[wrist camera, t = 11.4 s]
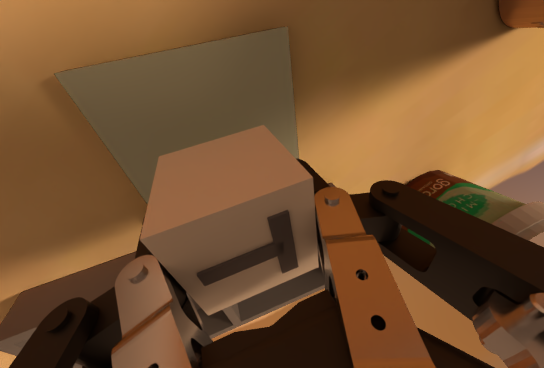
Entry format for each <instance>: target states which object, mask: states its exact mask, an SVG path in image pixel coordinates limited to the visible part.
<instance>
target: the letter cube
mask: <svg viewBox="0 0 544 368" xmlns="http://www.w3.org/2000/svg"><path fill="white" fill-rule="evenodd" d="M140 241H141V242H142V243H143V244H144V245H145V246H146V247H147V249H148V250H149V251H150V252H151V253H152V254H153V255H154V256H155V257H156V258H157V260H158V261H159V262H160V263H161V264H162V265H163V266H164V267H165V268H166V270H167V271H168V272H169V273H170V274H171V275H172V276H173V277H174V278H175V279H176V281H177V282H178V283H179V284H180V285H181V286H182V287H183V288H184V289H185V291H186V292H187V293H188V294H189V295H190V296H191V297H192V298H193V299H194V300H195V302H196V303H197V304H198V305H199V306H200V307H201V308H202V309H203V310H204V311H205V313H206V314H207V315H208V316H209V315H211V314H213V313H216V312H218V311H220V310H222V309H225V308H227V307H229V306H232V305H234V304H236V303H238V302H241V301H243V300H245V299H247V298H250V297H252V296H254V295H256V294H259V293H261V292H263V291H266V290H268V289H270V288H272V287H275V286H277V285H279V284H281V283H284V282H286V281H288V280H290V279H293V278H295V277H297V276H300V275H302V274H304V273H306V272H309V271H311V270H313V269H315V268H318V267H319V264H318V249H317V233H316V217H315V201H314V186H313V177H312V176H311V175H310V174H309V173H308V171H307V170H306V169H305V168H304V167H303V166H302V165H301V164H300V163H299V162H298V161H297V160H296V159H295V158H294V157H293V155H292V154H291V153H290V152H289V151H288V150H287V149H286V148H285V147H284V146H283V145H282V144H281V143H280V142H279V141H278V139H277V138H276V137H275V136H274V135H273V134H272V133H271V132H270V131H269V130H268V129H267V128H266V127H265V126H264V125H261V126H258V127H255V128H251V129H248V130H245V131H241V132H238V133H235V134H231V135H228V136H225V137H222V138H218V139H215V140H212V141H208V142H205V143H202V144H198V145H195V146H192V147H189V148H185V149H182V150H179V151H175V152H172V153H169V154H165V155H162V156H159V158H158V162H157V167H156V171H155V175H154V180H153V184H152V188H151V193H150V197H149V201H148V206H147V210H146V214H145V219H144V223H143V227H142V232H141V236H140Z"/></svg>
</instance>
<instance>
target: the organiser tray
mask: <svg viewBox="0 0 544 368" xmlns="http://www.w3.org/2000/svg"><path fill="white" fill-rule="evenodd" d="M328 185H329V186H330V187H335V186H334V185H333V184H332V183H329V184H328ZM317 249H318V245H317ZM135 255H136V252H134V253H131V254H128V255H125V256H123V257H120V258H117V259H114V260H111V261H108V262H106V263H103V264H100V265H97V266H94V267H91V268H89V269H86V270H83V271H80V272H77V273H75V274H72V275H69V276H66V277H63V278H60V279H58V280H55V281H52V282H49V283H46V284H43V285H41V286H38V287H35V288H32V289H29V290H26V291H24V292H21V294H20V295H19V297H18V298H17V300H16V301H15V303H14V304H13V306H12V307H11V309H10V311H9V312H8V314H7V315H6V317H5V318H4V320H3V321H2V323H1V324H0V351H2V352H6V353H9V354H12V355H15V356H17V355H18V354H19V352H20V351H21V350H22V348H23V347H24V345H25V344H26V342H27V341H28V340H29V338H30V337H31V335H32V334H33V333H34V331H35V330H36V328H37V327H38V325H39V324H40V323H41V321H42V320H43V319H44V318H45V317H46V316H47V315H48V314H49V313H50V312H51V311H52V310H54V309H55V308H56V307H57V306H59V305H60V304H62V303H64V302H65V301H67V300H70V299H72V298H76V297H82V298H84V299H86V300H87V301H89V302H91V301H93V300H94V299H96V298H97V297H99V296H100V295H102V294H104V293H105V292H107V291H108V290H110V289H111V288H113V287H114V286H115V281H116V278H117V276H118V275H119V273H120V272H121V271H122V269H123V268H124V267H125V266H126V265H127V264H129V263H130V262H131V261H133V260H134V259H135ZM318 264H319V267H318V268H315V269H313V270H311V271H309V272H306V273H304V274H302V275H300V276H297V277H295V278H293V279H290V280H288V281H286V282H284V283H281V284H279V285H277V286H275V287H272V288H270V289H268V290H266V291H263V292H261V293H259V294H256V295H254V296H252V297H250V298H247V299H245V300H243V301H241V302H238V303H236V304H234V305H232V306H229V307H227V308H225V309H222V310H220V311H218V312H216V313H213V314H211V315H209V316H208V315H207V314H206V313H205V311H204V310H203V309H202V308H201V307H200V306H199V305H198V304H197V303H196V302H195V300H194V299H193V298H192V297H191V296H190V297H191V300H192V302H193V304H194V306H195V308H196V310H197V312H198V314H199V317H200V319H201V321H202V323H203V325H204V327H205V329H206V331H207V333H208V335H209V337H210V338H211V339H212V338H214V337H216V336H218V335H221V334H223V333H225V332H227V331H230V330H232V329H234V328H236V327H239V326H241V325H243V324H245V323H248V322H250V321H252V320H254V319H256V318H259V317H261V316H263V315H265V314H268V313H270V312H272V311H274V310H277V309H279V308H281V307H283V306H285V305H288V304H290V303H292V302H294V301H297V300H299V299H301V298H303V297H306V296H308V295H310V294H312V293H314V292H317V291H319V290H321V289H323V288H325V284H324V277H323V272H322V267H321V261H320V256H319V251H318ZM73 368H82V366H81V365H78V364H76V363H75V364H74V366H73Z"/></svg>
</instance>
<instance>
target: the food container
mask: <svg viewBox="0 0 544 368" xmlns="http://www.w3.org/2000/svg"><path fill="white" fill-rule="evenodd" d="M406 186H408V187H410V188H412V189H415V190H417V191H419V192H421V193H424V194H426V195H428V196H430V197H432V198H435V199H437V200H439V201H441V202H444V203H446V204H448V205H450V206H452V207H455V208H457V209H459V210H461V211H464V212H466V213H468V214H470V215H473V216H475V217H477V218H479V219H481V220H484V221H486V222H488V223H490V224H493V225H495V226H497V227H499V228H502V229H504V230H506V231H508V232H510V233H513V234H515V235H517V236H519V237H522V238H524V239H526V240H530V239H531V238H533V237H535V236H537V235H538V234H540V233H542V232H544V203H542V202H532V203H529V204H524V203H521V202H519V201H516V200H514V199H511V198H509V197H506V196H503V195H501V194H499V193H496V192H494V191H491V190H489V189H486V188H483V187H481V186H478V185H476V184H473V183H471V182H468V181H466V180H463V179H461V178H458V177H456V176H453V175H451V174H448V173H446V172H443V171H440V170H435V171H429V172H427V173H425V174H422V175H420V176H418V177H417V178H415V179H414V180H412V181H411V182H409V183H408V184H407V185H406ZM401 228H403V229H404V230H406V231H408V232H409V233H411V234H413V235H414V236H416V237H418V238H419V239H421V240H422V241H424V242H426V243H427V244H429V245H431V246H432V247H434V245H433V244H432V243H431V242H430V241H428V240H427V239H425V238H423V237H422V236H420V235H418V234H416V233H415V232H413V231H411V230H410V229H408V228H406V227H405V226H403V225H402V227H401ZM434 248H435V247H434Z"/></svg>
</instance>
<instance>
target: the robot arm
mask: <svg viewBox="0 0 544 368" xmlns="http://www.w3.org/2000/svg"><path fill="white" fill-rule="evenodd" d="M499 12H500V15H501V19H502V21H503V22H504V23H505V24H506V26H509V27H512V28H534V27H537V28H544V0H499ZM296 160H297V161H298V162H299V163H300V164H301V165H302V166H303V167H304V168H305V169H306V170H307V171H308V173H309V174H310V175H311V176H312V177H313V186H314V201H315V217H316V233H317V245H318V251H319V256H320V261H321V267H322V272H323V277H324V284H325V291H323V292H320V293H318V294H316V295H314V296H312V297H310V298H307V299H305V300H303V301H301V302H299V303H298V304H297V305H295V306H294V307H293V308H292V309H291V310H290V311H288V312H287V313H286V314H285V315H284V316H283V317H281V318H280V319H279V320H278V321H277V322H276V323H275V324H273V325H272V326H270V327H265V328H259V329H252V330H246V331H239V332H234V333H232V334H230V335H227V336H225V337H223V338H221V339H219V340H217V341H214V342H213V341H212V340H211V338H210V337H209V335H208V333H207V331H206V329H205V327H204V325H203V323H202V321H201V319H200V317H199V314H198V312H197V310H196V308H195V306H194V304H193V302H192V300H191V297H190V295H189V294H188V293H187V292H186V291H185V289H184V288H183V287H182V286H181V285H180V284H179V283H178V282H177V281H176V279H175V278H174V277H173V276H172V275H171V274H170V273H169V272H168V271H167V270H166V268H165V267H164V266H163V265H162V264H161V263H160V262H159V261H158V260H157V258H156V257H155V256H154V255H153V254H152V253H151V252H150V251H149V250H148V249H147V247H146V246H145V245H144V244H143V243H142V242H141V241H140V238H139V242H138V247H137V251H136V255H135V259H134V260H133V261H131V262H130V263H129V264H127V265H126V266H125V267H124V268H123V269H122V271H121V272H120V273H119V275H118V276H117V278H116V281H115V286H114V287H113V288H111V289H110V290H108V291H107V292H105V293H104V294H102V295H100V296H99V297H97V298H96V299H94V300H93V301H91V302H89V301H87V300H86V299H84V298H82V297H76V298H72V299H70V300H67V301H65V302H64V303H62V304H60V305H59V306H57V307H56V308H55V309H54V310H52V311H51V312H50V313H49V314H48V315H47V316H46V317H45V318H44V319H43V320H42V321H41V323H40V324H39V325H38V327H37V328H36V330H35V331H34V333H33V334H32V335H31V337H30V338H29V340H28V341H27V342H26V344H25V345H24V347H23V348H22V350H21V351H20V352H19V354H18V355H17V357H16V358H15V360H14V361H13V362H12V364H11V365H10V367H9V368H73V366H74V364H75V363H76V364H78V365H81V366H82V368H494V367H492V366H490V365H488V364H487V363H484V362H483V361H481V360H479V359H477V358H475V357H473V356H471V355H469V354H467V353H465V352H463V351H461V350H460V349H457V348H455V347H454V346H452V345H450V344H448V343H446V342H444V341H442V340H440V339H438V338H436V337H435V336H433V335H431V334H428V333H427V332H425V331H423V330H421V329H419V328H417V327H416V325H415V323H414V321H413V319H412V316H411V314H410V312H409V310H408V308H407V306H406V304H405V301H404V299H403V297H402V295H401V293H400V290H399V288H398V286H397V284H396V282H395V280H394V277H393V275H392V273H391V271H390V269H389V266H388V264H387V262H386V260H385V258H384V256H386V257H387V258H388V259H390V260H391V261H392V262H394V263H395V264H396V265H398V266H399V267H400V268H402V269H403V270H404V271H406V272H407V273H408V274H410V275H411V276H412V277H414V278H415V279H416V280H418V281H419V282H420V283H422V284H423V285H425V286H426V287H427V288H428V289H430V290H431V291H433V292H434V293H435V294H437V295H438V296H439V297H440V298H442V299H443V300H444V301H446V302H447V303H449V304H450V305H451V306H453V307H454V308H455V309H457V310H458V311H459V312H461V313H462V314H463V315H465V316H466V317H467V318H469V319H470V320H472V321H473V325H474V327H475V330H476V332H477V333H478V335H479V339H480V342H481V343H482V345H483V346H484V347H485V348H486V349H487V350H489V351H490V352H492V353H494V354H497V355H498V356H499V357H500V358H501V359H502V360H503V362H504V363H505V364H506V365H507V367H508V368H544V247H542V246H539V245H537V244H535V243H533V242H530V241H528V240H526V239H524V238H522V237H519V236H517V235H515V234H513V233H510V232H508V231H506V230H504V229H502V228H499V227H497V226H495V225H493V224H490V223H488V222H486V221H484V220H481V219H479V218H477V217H475V216H473V215H470V214H468V213H466V212H464V211H461V210H459V209H457V208H455V207H452V206H450V205H448V204H446V203H444V202H441V201H439V200H437V199H435V198H432V197H430V196H428V195H426V194H424V193H421V192H419V191H417V190H415V189H412V188H410V187H408V186H406V185H403V184H401V183H399V182H395V181H388V180H385V181H379V182H376V183H374V184H373V185H372V186H371V189H370V193H362V194H352V195H351V194H348V193H347V192H346V191H345V190H343V189H340V188H336V187H330V186H329V185H328V184H327V183H326V182H325V181H324V180H323V179H322V178H321V177H320V176H319V175H318V174H317V173H316V172H315V171H314V170H313V169H312V168H311V167H310V166H309V165H308V164H307V163H306V162H305V161H303V160H300V159H298V158H297V159H296ZM144 219H145V217H144ZM143 223H144V221H143ZM402 225H403V226H405V227H406V228H408V229H410V230H411V231H413V232H415V233H416V234H418V235H420V236H422V237H423V238H425V239H427V240H428V241H430V242H431V243H432V244H433V245H434V247H435V248H434V247H432V246H431V245H429V244H427V243H426V242H424V241H422V240H421V239H419V238H418V237H416V236H414V235H413V234H411V233H409V232H408V231H406V230H404V229H403V228H401V227H402ZM141 232H142V230H141ZM140 236H141V234H140ZM383 255H384V256H383Z"/></svg>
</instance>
